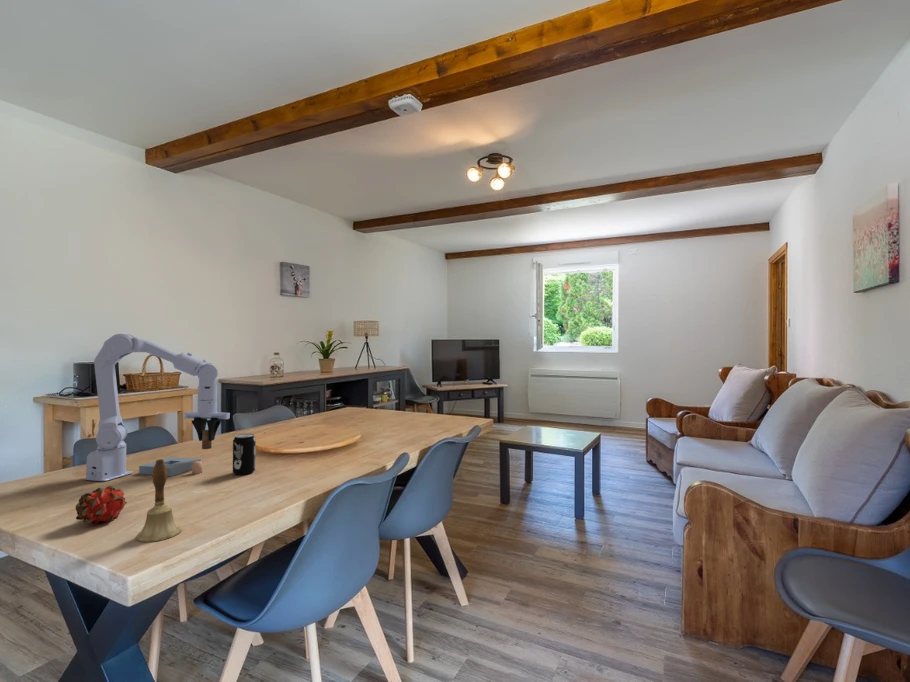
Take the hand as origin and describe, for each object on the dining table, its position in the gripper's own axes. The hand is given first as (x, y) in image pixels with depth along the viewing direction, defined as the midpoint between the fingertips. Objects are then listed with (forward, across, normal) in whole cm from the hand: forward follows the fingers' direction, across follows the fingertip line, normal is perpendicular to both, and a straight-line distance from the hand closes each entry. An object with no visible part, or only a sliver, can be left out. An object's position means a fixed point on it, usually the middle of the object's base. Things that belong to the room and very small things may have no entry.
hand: (206, 440), depth 152 cm
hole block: (+9, +9, +5) cm, 13 cm away
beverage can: (+9, -16, +6) cm, 20 cm away
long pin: (+3, 0, 0) cm, 3 cm away
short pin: (+9, -2, +8) cm, 12 cm away
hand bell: (+9, -22, +53) cm, 58 cm away
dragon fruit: (+9, -4, +47) cm, 48 cm away
